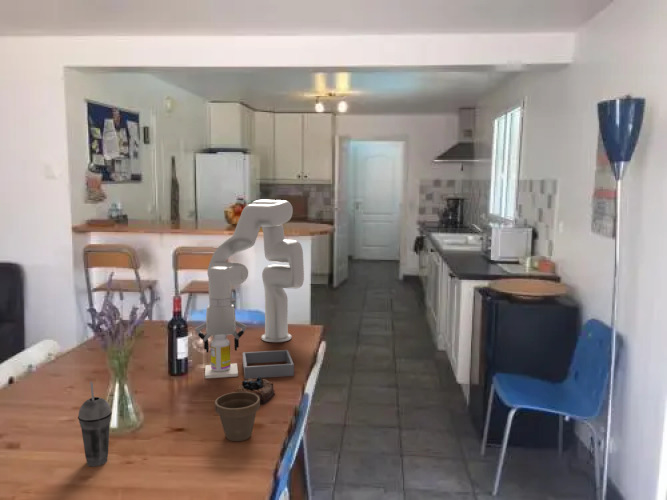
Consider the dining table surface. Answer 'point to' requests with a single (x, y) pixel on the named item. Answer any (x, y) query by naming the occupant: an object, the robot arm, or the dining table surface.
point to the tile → (229, 373)
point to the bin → (267, 369)
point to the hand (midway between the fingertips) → (221, 350)
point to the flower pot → (237, 414)
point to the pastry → (258, 388)
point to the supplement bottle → (220, 353)
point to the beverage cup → (95, 429)
